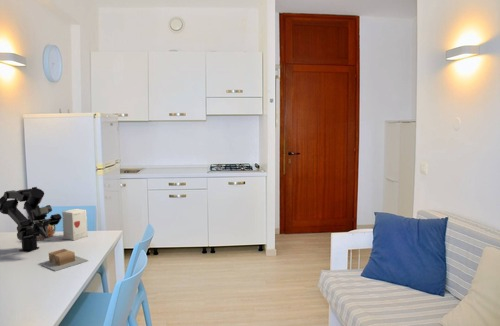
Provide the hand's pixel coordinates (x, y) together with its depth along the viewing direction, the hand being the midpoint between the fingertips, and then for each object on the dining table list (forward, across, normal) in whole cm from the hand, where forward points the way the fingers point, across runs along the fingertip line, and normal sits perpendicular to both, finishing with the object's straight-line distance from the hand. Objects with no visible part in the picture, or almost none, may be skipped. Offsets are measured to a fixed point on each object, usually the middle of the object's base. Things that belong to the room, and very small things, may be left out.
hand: (46, 237), depth 184 cm
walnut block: (+11, 0, -1) cm, 11 cm away
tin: (-16, +15, +30) cm, 38 cm away
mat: (+17, 0, -4) cm, 18 cm away
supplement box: (-7, +25, +21) cm, 33 cm away
